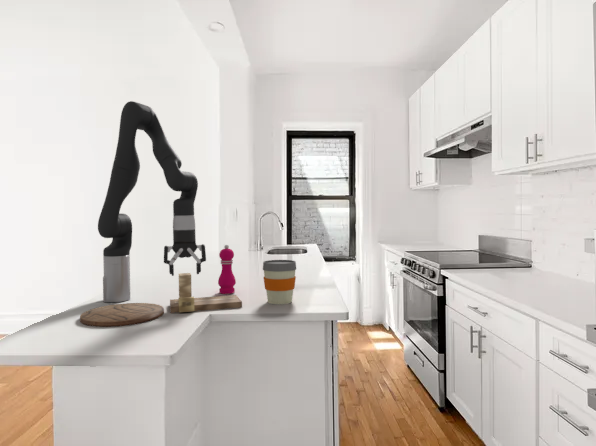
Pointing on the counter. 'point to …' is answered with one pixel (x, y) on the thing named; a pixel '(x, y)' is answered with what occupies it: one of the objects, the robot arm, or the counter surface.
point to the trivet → (121, 314)
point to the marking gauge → (185, 293)
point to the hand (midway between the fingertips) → (185, 274)
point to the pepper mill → (226, 272)
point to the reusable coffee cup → (279, 280)
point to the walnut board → (210, 303)
